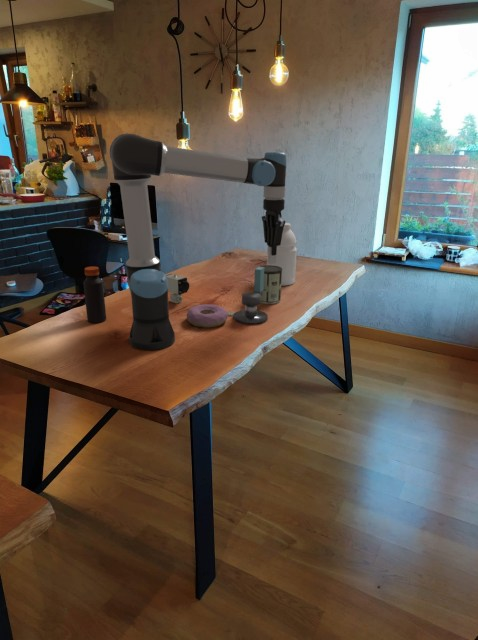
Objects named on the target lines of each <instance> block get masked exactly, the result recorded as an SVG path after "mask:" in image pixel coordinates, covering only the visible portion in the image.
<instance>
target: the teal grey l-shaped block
mask: <svg viewBox="0 0 478 640" xmlns="http://www.w3.org/2000/svg"><path fill="white" fill-rule="evenodd" d="M253 285H254V288H253V292H252V291H251V292H248V291H247V292H243V293H242V294H241V303H242V305H244V306H245V305H247V306H256V305H257V306H259V305H261V303H260V299H261V296H262V294H263V290H264V267H260V266H257V267H256V268H254V283H253Z"/></svg>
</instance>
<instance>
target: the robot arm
mask: <svg viewBox="0 0 478 640" xmlns="http://www.w3.org/2000/svg"><path fill="white" fill-rule="evenodd" d="M109 157H110V160H111V167H112V172H113V173H112V174H113V178H114V182H116V184H118V185H119V187H120V195H121V202H122V204H121V205H122V210H123V217H124V218H123V219H124V225H125V234H126V241H127V249H128V256H129V258H128V259H127V260H126V262H125V267H126V282H127V287H128V288H129V292H130V295H131V296H130V297H131V306H132V307H131V308H132V309H131V310H132V323H131V324H132V325H131V328H130V331H129V335H128V338H129V340H128V341H129V345H130V346H131V347H133V348H134V349H137V350H143V351H158V350H162V349H166V348H168V347H171V346H172V345H173V344H175V342H176V334H175V331H174V329H173V326H172V323H171V320H170V315H169V313H170V312H169V308H170V307H169V292H168V281H167V277H166V275H167V274H166V273H164V272H163V271H162V267H161V261H160V258H158V256H156V255H155V254H156V253H155V243H154V234H153V226H152V218H151V207H150V200H149V198H150V197H149V189H148V188H149V187H148V183H149V182H150V181H151V179H152V176H157V177H158V176H162V175H163V174H170V175H178V176H185V177H192V178H193V177H195V178H201V179H209V180H217V181H225V182H234V183H242V184H249V185H255V186H256V185H257V186H258V187H263V195H262V196H263V198H264V199H263V201H262V202H263V204H262V205H263V207H262V209H263V210H264V211H265V214H264V215H262V216H261V220H262V226H263V237H264V239H263V240H264V243H266V245H267V249H268V250H267V252H268V264H274V263H276V251H277V246H280V245H281V239H282V233H283V228H284V225H285V223H286V220H283V219H282V211H284V210H285V199H284V198H285V197H286V196H285V195H286V176H287V175H286V174H287V156H286V153H285V152H282V151H281V152H280V151H267V152H265V153H264V157H261V158H251V157H250V158H247V157H242V156H241V157H240V156H237V155H236V156H234V155H228V154H224V153H223V154H221V153H215V152H208V151H201V150H194V149H188V148H181V147H175V146H167V145H165V144H164V141H160V140H153V139H149V138H147V137H143V136H140V135H139V134H135V133H128V132H127V133H121V134H120V135H118V136H116V137H115V138H114V139H113V141H112V142H111V145H110V147H109Z"/></svg>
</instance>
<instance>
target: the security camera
mask: <svg viewBox="0 0 478 640" xmlns="http://www.w3.org/2000/svg"><path fill="white" fill-rule="evenodd" d="M165 275H166V277H167V281H168V293H171V294H169V299H170V300H169V302H170V303H174V304H178V303H181V302H182V301H183V297H182V295H183V294H187V293H188V291H189V289H190V283H189V282H188V278H187V277H185V276H183V275H180V274H179V275H177V273H170V274H165Z"/></svg>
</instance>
